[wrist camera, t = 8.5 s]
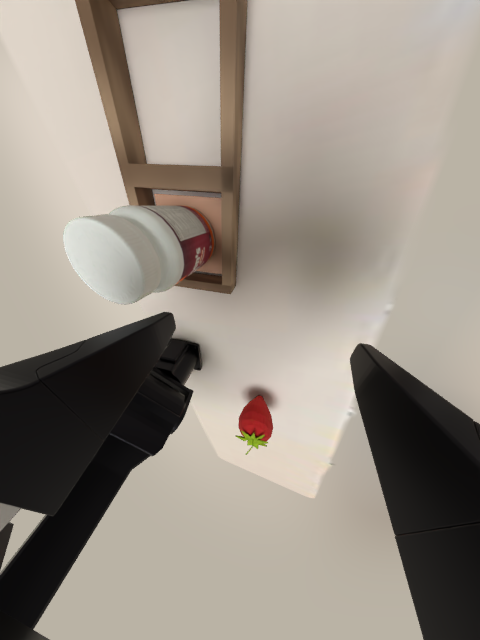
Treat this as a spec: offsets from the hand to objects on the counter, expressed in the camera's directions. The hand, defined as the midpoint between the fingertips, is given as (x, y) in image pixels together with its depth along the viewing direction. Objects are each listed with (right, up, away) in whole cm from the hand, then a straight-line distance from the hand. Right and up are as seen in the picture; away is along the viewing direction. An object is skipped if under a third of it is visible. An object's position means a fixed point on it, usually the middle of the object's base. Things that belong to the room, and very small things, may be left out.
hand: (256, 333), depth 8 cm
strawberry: (+3, -15, +26) cm, 30 cm away
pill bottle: (-6, +10, +11) cm, 16 cm away
